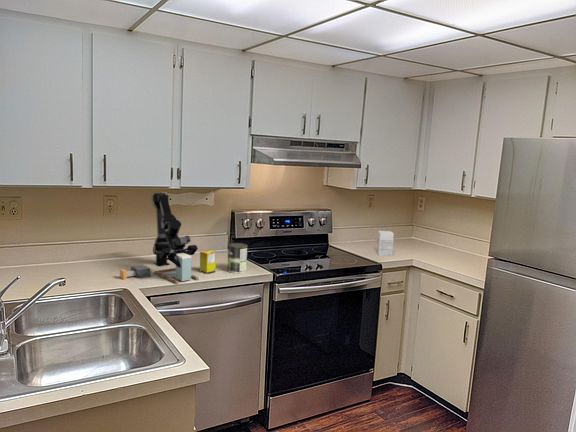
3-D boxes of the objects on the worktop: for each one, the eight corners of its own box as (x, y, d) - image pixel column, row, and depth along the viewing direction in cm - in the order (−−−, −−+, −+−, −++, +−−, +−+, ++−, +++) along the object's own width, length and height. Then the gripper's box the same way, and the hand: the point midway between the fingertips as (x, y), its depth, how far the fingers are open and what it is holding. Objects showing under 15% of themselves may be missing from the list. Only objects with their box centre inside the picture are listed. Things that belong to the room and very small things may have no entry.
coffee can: (230, 273, 241) (230, 247, 239) (225, 268, 251) (225, 243, 249) (249, 272, 245) (249, 246, 243) (243, 267, 254) (244, 242, 252)
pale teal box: (175, 278, 227) (175, 254, 225) (184, 276, 231) (184, 253, 229) (181, 281, 223) (182, 257, 221) (191, 279, 226) (191, 255, 224)
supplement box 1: (208, 269, 247) (208, 249, 246) (215, 272, 244) (216, 251, 242) (199, 271, 243) (199, 251, 241) (207, 274, 239) (207, 253, 238)
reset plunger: (120, 277, 226) (119, 269, 226) (133, 275, 231) (133, 267, 231) (123, 279, 223) (123, 271, 223) (137, 277, 228) (137, 269, 228)
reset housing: (130, 274, 233) (130, 266, 232) (141, 272, 237) (141, 264, 236) (138, 278, 226) (138, 270, 225) (150, 276, 230) (150, 268, 230)
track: (153, 273, 236) (153, 271, 236) (175, 270, 244) (175, 267, 244) (176, 284, 220) (176, 281, 220) (198, 279, 228) (198, 277, 228)
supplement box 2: (376, 252, 307) (377, 230, 305) (390, 253, 307) (391, 231, 305) (378, 255, 298) (380, 232, 296) (392, 256, 298) (394, 233, 296)
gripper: (162, 232, 220) (173, 259, 213) (196, 228, 232) (208, 254, 226) (154, 245, 226) (165, 272, 220) (187, 241, 239) (198, 266, 233)
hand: (184, 266), depth 225 cm, fingers closed on pale teal box, 5 cm apart
